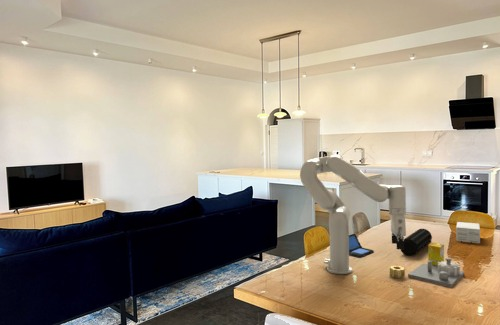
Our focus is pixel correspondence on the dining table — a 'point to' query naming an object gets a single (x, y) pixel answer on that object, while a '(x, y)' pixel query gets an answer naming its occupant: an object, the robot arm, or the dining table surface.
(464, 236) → the supplement box
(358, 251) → the handheld game console
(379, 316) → the dining table surface
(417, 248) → the roller
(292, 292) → the dining table surface
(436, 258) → the supplement box
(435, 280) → the gear board
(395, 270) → the brass gear
